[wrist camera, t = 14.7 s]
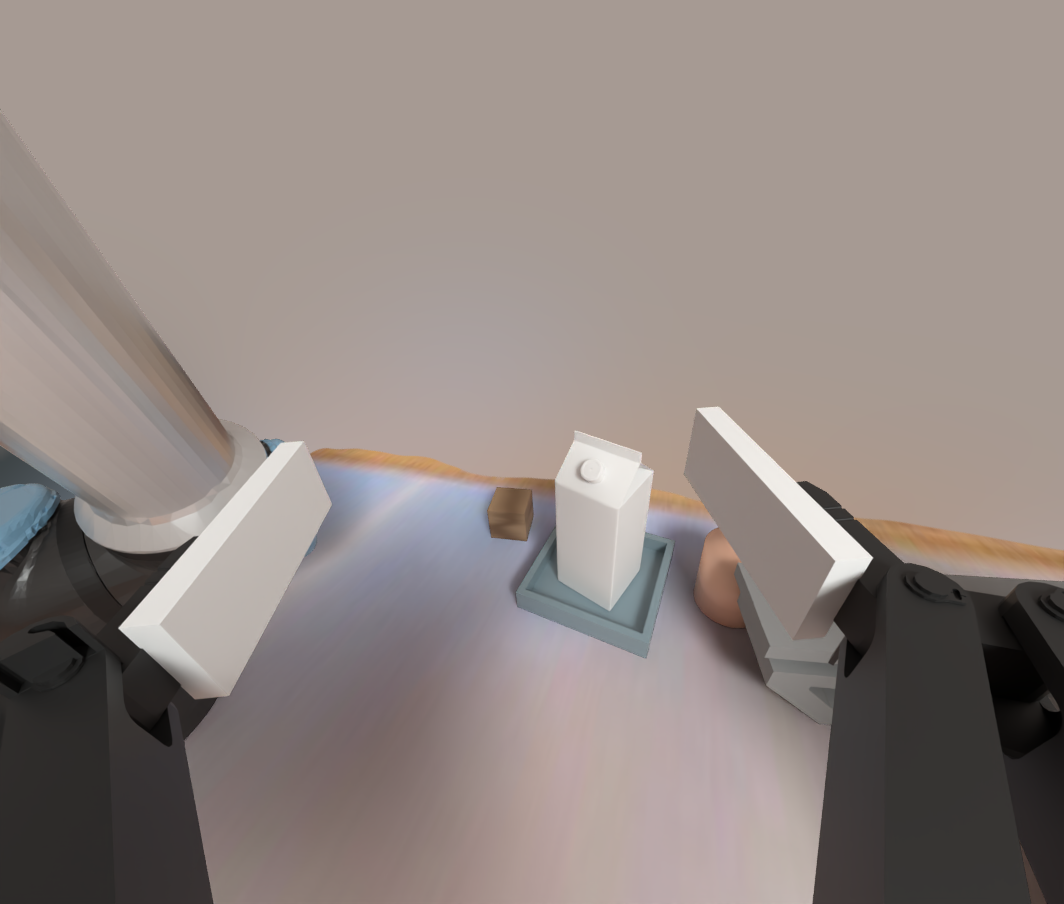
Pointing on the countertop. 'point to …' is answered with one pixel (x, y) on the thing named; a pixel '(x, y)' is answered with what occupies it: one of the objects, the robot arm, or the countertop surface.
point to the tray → (619, 626)
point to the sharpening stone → (818, 645)
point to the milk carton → (601, 517)
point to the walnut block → (511, 513)
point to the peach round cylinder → (718, 582)
